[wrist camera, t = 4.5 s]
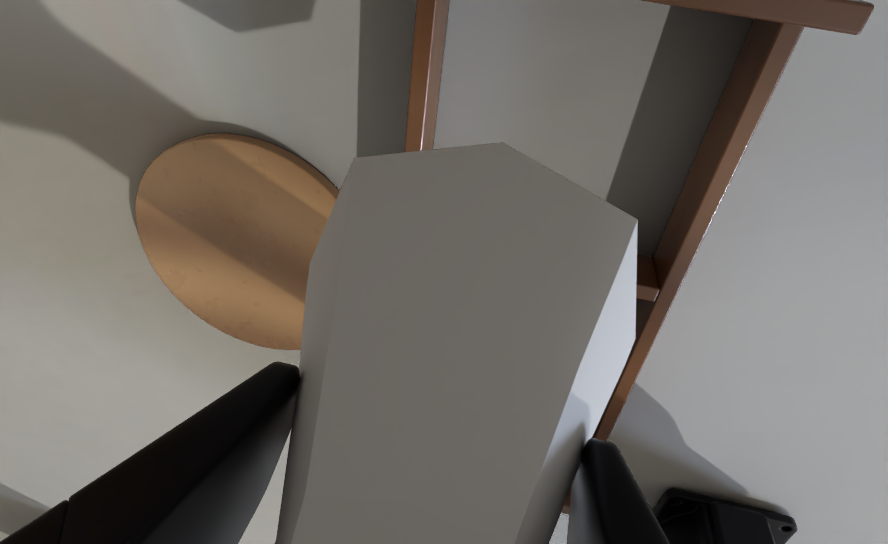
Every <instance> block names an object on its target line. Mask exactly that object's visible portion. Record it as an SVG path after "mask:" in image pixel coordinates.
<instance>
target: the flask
mask: <svg viewBox="0 0 888 544" xmlns="http://www.w3.org/2000/svg"><path fill="white" fill-rule="evenodd" d="M637 228H638V219H636V218H634V217H633V216H631V215H629V214H627V213H626V212H624V211H622V210H620V209H619V208H617V207H615V206H613V205H612V204H610V203H608V202H606V201H604V200H603V199H601V198H599V197H597V196H596V195H594V194H592V193H590V192H589V191H587V190H585V189H583V188H582V187H580V186H578V185H576V184H575V183H573V182H571V181H569V180H568V179H566V178H564V177H562V176H561V175H559V174H557V173H555V172H554V171H552V170H550V169H548V168H547V167H545V166H543V165H541V164H540V163H538V162H536V161H534V160H533V159H531V158H529V157H527V156H526V155H524V154H522V153H520V152H519V151H517V150H515V149H513V148H512V147H510V146H508V145H506V144H505V143H503V142H501V143H492V144H482V145H472V146H463V147H453V148H443V149H434V150H424V151H414V152H405V153H395V154H385V155H376V156H366V157H356V158H354V159H353V161H352V164H351V166H350V168H349V171H348V173H347V175H346V178H345V180H344V183H343V185H342V187H341V190H340V192H339V195H338V197H337V199H336V202H335V204H334V206H333V209H332V211H331V214H330V216H329V218H328V221H327V223H326V226H325V228H324V230H323V233H322V235H321V237H320V240H319V242H318V245H317V247H316V249H315V252H314V254H313V257H312V259H311V261H310V266H309V274H308V281H307V288H306V298H305V309H304V321H303V332H302V343H301V354H300V365H299V371H300V380H299V383H298V387H297V393H296V400H295V407H294V414H293V422H292V429H291V436H290V444H289V451H288V458H287V465H286V473H285V480H284V487H283V495H282V502H281V509H280V516H279V524H278V531H277V538H276V542H275V544H549V541H550V539H551V536H552V534H553V531H554V529H555V526H556V524H557V521H558V519H559V516H560V514H561V511H562V509H563V506H564V504H565V501H566V499H567V496H568V494H569V491H570V489H571V486H572V484H573V481H574V479H575V476H576V474H577V471H578V469H579V466H580V464H581V460H582V454H583V449H584V446H585V444H586V442H587V441H588V440H589V439H590V438H592V436H593V434H594V432H595V430H596V427H597V425H598V423H599V421H600V419H601V416H602V414H603V412H604V410H605V408H606V406H607V403H608V401H609V399H610V397H611V395H612V392H613V390H614V388H615V386H616V384H617V382H618V379H619V377H620V375H621V373H622V371H623V368H624V366H625V364H626V361H627V359H628V356H629V354H630V351H631V349H632V346H633V344H634V341H635V334H636V281H637Z"/></svg>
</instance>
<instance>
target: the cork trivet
mask: <svg viewBox="0 0 888 544" xmlns="http://www.w3.org/2000/svg"><path fill="white" fill-rule="evenodd" d="M339 192H340V191H339V190H338V189H337V188H336V187H335V186H334V185H333V184H332V183H331V182H330V181H329V180H328V179H327V178H326V177H325V176H323V175H322V174H321V173H320V172H319V171H317V170H316V169H315V168H314V167H313V166H311V165H310V164H308V163H307V162H305V161H304V160H302V159H301V158H299V157H298V156H296V155H294V154H292V153H290V152H288V151H287V150H285V149H283V148H281V147H279V146H276V145H273V144H271V143H268V142H266V141H263V140H259V139H256V138H252V137H248V136H242V135H235V134H207V135H201V136H196V137H193V138H190V139H187V140H184V141H182V142H180V143H178V144H176V145H174V146H172V147H171V148H169V149H167V150H166V151H164V152H163V153H162V154H160V155H159V156H158V157H157V158H156V159H154V161H153V162H152V163H151V164H150V166H149V167H148V168H147V169H146V171H145V173H144V175H143V177H142V179H141V181H140V184H139V187H138V191H137V195H136V204H135V214H136V223H137V229H138V234H139V237H140V240H141V243H142V246H143V248H144V251H145V253H146V255H147V257H148V259H149V261H150V263H151V264H152V266H153V268H154V270H155V271H156V273H157V274H158V276H159V277H160V278H161V280H162V281H163V283H164V284H165V285H166V286H167V287H168V289H169V290H170V291H171V292H172V293H173V294H174V295H175V296H176V297H177V298H178V299H179V300H180V301H181V302H182V303H183V304H184V305H185V306H186V307H187V308H188V309H190V310H191V311H192V312H193V313H194V314H196V315H197V316H198V317H200V318H201V319H203V320H204V321H206V322H207V323H208V324H210V325H212V326H213V327H215V328H217V329H219V330H220V331H222V332H224V333H226V334H228V335H230V336H232V337H235V338H237V339H240V340H242V341H245V342H248V343H251V344H255V345H258V346H262V347H267V348H273V349H282V350H301V343H302V332H303V321H304V309H305V298H306V288H307V281H308V274H309V266H310V261H311V259H312V257H313V254H314V252H315V249H316V247H317V245H318V242H319V240H320V237H321V235H322V233H323V230H324V228H325V226H326V223H327V221H328V218H329V216H330V214H331V211H332V209H333V206H334V204H335V202H336V199H337V197H338V195H339Z"/></svg>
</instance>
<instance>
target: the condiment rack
mask: <svg viewBox="0 0 888 544" xmlns="http://www.w3.org/2000/svg"><path fill="white" fill-rule="evenodd" d="M642 1H648V2H654V3H660V4H667V5H673V6H679V7H685V8H691V9H698V10H704V11H710V12H716V13H722V14H729V15H735V16H741V17H747V18H754V20H753V23H752V25H751V27H750V30H749V32H748V34H747V37H746V39H745V42H744V44H743V46H742V49H741V51H740V53H739V56H738V58H737V60H736V63H735V65H734V68H733V70H732V72H731V75H730V77H729V79H728V82H727V84H726V86H725V89H724V91H723V94H722V96H721V98H720V101H719V103H718V105H717V108H716V110H715V113H714V115H713V117H712V120H711V122H710V124H709V127H708V129H707V131H706V134H705V136H704V139H703V141H702V143H701V146H700V148H699V150H698V153H697V155H696V157H695V160H694V162H693V165H692V167H691V169H690V172H689V174H688V176H687V179H686V181H685V183H684V186H683V188H682V191H681V193H680V195H679V198H678V200H677V202H676V205H675V207H674V210H673V212H672V214H671V217H670V219H669V221H668V224H667V226H666V228H665V231H664V233H663V236H662V238H661V240H660V243H659V245H658V247H657V250H656V252H655V254H654V257H653V258H652V257H650V256H645V255H640V254H637V281H636V334H635V341H634V344H633V346H632V349H631V351H630V354H629V356H628V359H627V361H626V364H625V366H624V368H623V371H622V373H621V375H620V377H619V379H618V382H617V384H616V386H615V388H614V390H613V392H612V395H611V397H610V399H609V401H608V403H607V406H606V408H605V410H604V412H603V414H602V416H601V419H600V421H599V423H598V425H597V427H596V430H595V432H594V434H593V436H592V438H595V439H599V440H603V441H607V439H608V437H609V435H610V433H611V431H612V429H613V427H614V425H615V422H616V420H617V418H618V416H619V414H620V412H621V410H622V408H623V406H624V404H625V402H626V399H627V397H628V395H629V393H630V391H631V389H632V387H633V385H634V383H635V381H636V378H637V376H638V374H639V372H640V370H641V368H642V366H643V364H644V362H645V360H646V358H647V355H648V353H649V351H650V349H651V347H652V345H653V343H654V341H655V339H656V337H657V334H658V332H659V330H660V328H661V326H662V324H663V322H664V320H665V318H666V316H667V314H668V311H669V309H670V307H671V305H672V303H673V301H674V299H675V297H676V295H677V293H678V290H679V288H680V286H681V284H682V282H683V280H684V278H685V276H686V274H687V272H688V270H689V267H690V265H691V263H692V261H693V259H694V257H695V255H696V253H697V251H698V249H699V246H700V244H701V242H702V240H703V238H704V236H705V234H706V232H707V230H708V228H709V226H710V223H711V221H712V219H713V217H714V215H715V213H716V211H717V209H718V207H719V205H720V202H721V200H722V198H723V196H724V194H725V192H726V190H727V188H728V186H729V184H730V182H731V179H732V177H733V175H734V173H735V171H736V169H737V167H738V165H739V163H740V161H741V158H742V156H743V154H744V152H745V150H746V148H747V146H748V144H749V142H750V140H751V138H752V135H753V133H754V131H755V129H756V127H757V125H758V123H759V121H760V119H761V117H762V114H763V112H764V110H765V108H766V106H767V104H768V102H769V100H770V98H771V96H772V94H773V91H774V89H775V87H776V85H777V83H778V81H779V79H780V77H781V75H782V73H783V70H784V68H785V66H786V64H787V62H788V60H789V58H790V56H791V54H792V52H793V50H794V47H795V45H796V43H797V41H798V39H799V37H800V35H801V33H802V31H803V29H804V27H809V28H816V29H822V30H828V31H834V32H840V33H847V34H853V35H857V34H860V33H861V31H862V29H863V27H864V25H865V24H866V22H867V20H868V18H869V16H870V14H871V12H872V11H873V9H874V5H873V4H871V3H868V2H865V1H862V0H642ZM449 2H450V0H417V1H416V14H415V26H414V39H413V51H412V64H411V76H410V88H409V101H408V113H407V126H406V138H405V151H404V153H405V152H414V151H424V150H433V143H434V135H435V126H436V117H437V108H438V99H439V90H440V82H441V73H442V64H443V55H444V46H445V37H446V29H447V20H448V11H449ZM571 489H572V486H571ZM571 489H570V491H569V494H568V496H567V499H566V501H565V504H564V506H563V509H562V511H561V513H565V514H569V512H570V501H571Z"/></svg>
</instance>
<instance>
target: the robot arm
mask: <svg viewBox="0 0 888 544" xmlns="http://www.w3.org/2000/svg"><path fill="white" fill-rule="evenodd" d="M299 380H300V371H299V369H298V367H297V366H295V365H291V364H286V363H282V362H274V363H272V364H270V365H268V366H267V367H265V368H264V369H262V370H261V371H259V372H258V373H256V374H255V375H253V376H252V377H250V378H249V379H247V380H246V381H244V382H243V383H241V384H240V385H238V386H237V387H235V388H234V389H232V390H231V391H229V392H228V393H226V394H225V395H223V396H221V397H220V398H218V399H217V400H215V401H214V402H212V403H211V404H209V405H208V406H206V407H205V408H203V409H202V410H200V411H199V412H197V413H196V414H194V415H193V416H191V417H190V418H188V419H187V420H185V421H184V422H182V423H181V424H179V425H178V426H176V427H175V428H173V429H172V430H170V431H169V432H167V433H166V434H164V435H163V436H161V437H159V438H158V439H156V440H155V441H153V442H152V443H150V444H149V445H147V446H146V447H144V448H143V449H141V450H140V451H138V452H137V453H135V454H134V455H132V456H131V457H129V458H128V459H126V460H125V461H123V462H122V463H120V464H119V465H117V466H116V467H114V468H113V469H111V470H110V471H108V472H107V473H105V474H104V475H102V476H101V477H99V478H97V479H96V480H94V481H93V482H91V483H90V484H88V485H87V486H85V487H84V488H82V489H81V490H79V491H78V492H76V493H75V494H73V495H72V496H71V497H70V498H69V501H67V500H64V501H62V502H61V503H59V504H58V505H56V506H55V507H53V508H52V509H50V510H49V511H47V512H46V513H44V514H43V515H41V516H40V517H38V518H37V519H35V520H33V521H32V522H30V523H29V524H27V525H26V526H24V527H22V528H21V529H19V530H18V531H16V532H15V533H13V534H11V535H10V536H8V537H7V538H5V539H4V540H2V541H0V544H238V543H239V541H240V539H241V537H242V535H243V533H244V531H245V530H246V528H247V526H248V524H249V522H250V520H251V518H252V517H253V515H254V513H255V511H256V509H257V507H258V505H259V503H260V501H261V499H262V497H263V495H264V493H265V491H266V489H267V486H268V484H269V482H270V479H271V477H272V475H273V472H274V470H275V467H276V465H277V462H278V460H279V457H280V455H281V452H282V450H283V447H284V445H285V442H286V440H287V437H288V435H289V433H290V430H291V428H292V422H293V414H294V407H295V400H296V393H297V387H298V383H299ZM796 531H797V526H796V523H795V520H794V519H793V518H792V517H789V516H786V515H781V514H777V513H773V512H769V511H765V510H761V509H756V508H752V507H748V506H744V505H740V504H736V503H732V502H727V501H723V500H719V499H715V498H711V497H707V496H703V495H698V494H694V493H690V492H686V491H682V490H677V489H671V490H668V491H666V492H665V493H664V495H663V497H662V498H661V500H660V501H659V503H658V504H657V506H656V508H655V509H654V511H653V512H652V510H651V508H650V506H649V505H648V503H647V501H646V499H645V497H644V495H643V494H642V492H641V490H640V488H639V486H638V484H637V483H636V481H635V479H634V477H633V475H632V473H631V472H630V470H629V468H628V466H627V464H626V462H625V461H624V459H623V457H622V455H621V453H620V451H619V450H618V448H617V447H616V445H615V444H613V443H611V442H608V441H603V440H599V439H595V438H590V439H589V440H588V441H587V442H586V444H585V446H584V449H583V454H582V460H581V464H580V466H579V469H578V471H577V474H576V476H575V479H574V481H573V484H572V489H571V501H570V512H569V524H568V535H567V544H785V543H786V542H787V541H788V539H789V538H790V537H791V536H792V535H793V534H794V533H795V532H796Z"/></svg>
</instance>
